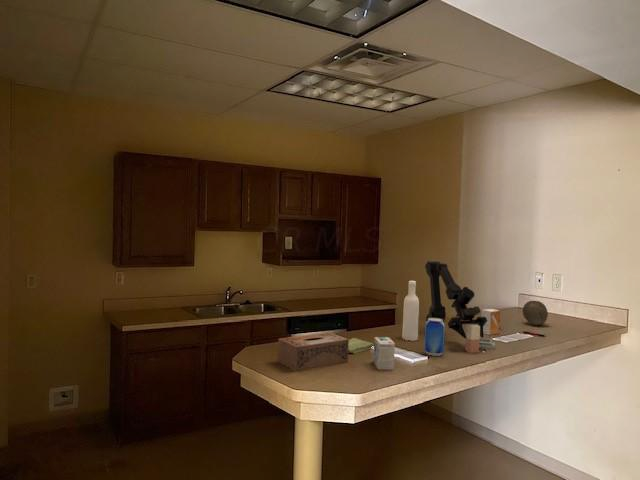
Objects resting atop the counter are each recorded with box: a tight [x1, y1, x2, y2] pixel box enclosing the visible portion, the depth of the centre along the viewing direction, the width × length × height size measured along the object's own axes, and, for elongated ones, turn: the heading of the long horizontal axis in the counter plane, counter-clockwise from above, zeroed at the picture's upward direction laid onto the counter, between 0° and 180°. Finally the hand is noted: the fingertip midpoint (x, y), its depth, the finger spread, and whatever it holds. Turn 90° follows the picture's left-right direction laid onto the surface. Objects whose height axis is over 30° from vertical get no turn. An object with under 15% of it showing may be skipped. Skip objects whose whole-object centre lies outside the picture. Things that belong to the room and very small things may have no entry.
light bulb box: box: [372, 336, 396, 371], centre depth 192 cm, size 11×7×11 cm, turn 5°
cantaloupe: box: [522, 300, 549, 327], centre depth 282 cm, size 14×14×15 cm
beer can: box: [424, 318, 446, 357], centre depth 212 cm, size 8×8×16 cm
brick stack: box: [464, 324, 481, 354], centre depth 218 cm, size 4×4×12 cm
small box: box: [480, 308, 501, 336], centre depth 257 cm, size 8×6×13 cm
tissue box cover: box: [277, 331, 350, 372], centre depth 194 cm, size 26×14×10 cm, turn 124°
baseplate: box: [479, 337, 496, 350], centre depth 231 cm, size 12×12×2 cm
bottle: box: [401, 280, 420, 342], centre depth 237 cm, size 8×8×30 cm
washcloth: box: [348, 337, 374, 355], centre depth 217 cm, size 13×18×3 cm
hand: (474, 337), depth 217 cm, fingers open, 9 cm apart
